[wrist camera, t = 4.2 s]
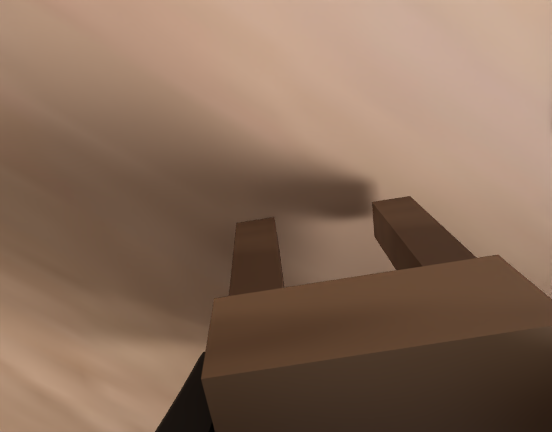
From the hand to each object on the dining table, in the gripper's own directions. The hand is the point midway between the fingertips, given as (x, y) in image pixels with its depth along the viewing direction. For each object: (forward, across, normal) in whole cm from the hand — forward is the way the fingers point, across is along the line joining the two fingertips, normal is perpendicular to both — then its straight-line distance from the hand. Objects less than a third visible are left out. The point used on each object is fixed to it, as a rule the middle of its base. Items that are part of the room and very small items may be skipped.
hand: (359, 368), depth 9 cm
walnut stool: (+3, 0, 0) cm, 3 cm away
